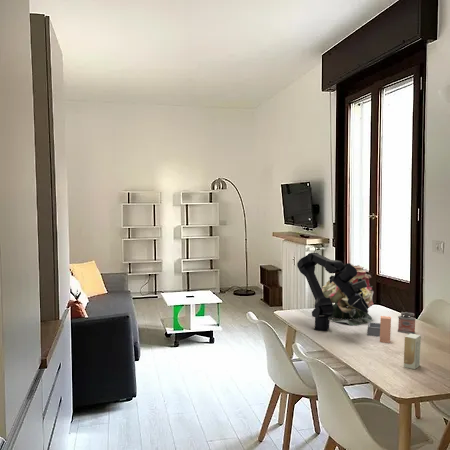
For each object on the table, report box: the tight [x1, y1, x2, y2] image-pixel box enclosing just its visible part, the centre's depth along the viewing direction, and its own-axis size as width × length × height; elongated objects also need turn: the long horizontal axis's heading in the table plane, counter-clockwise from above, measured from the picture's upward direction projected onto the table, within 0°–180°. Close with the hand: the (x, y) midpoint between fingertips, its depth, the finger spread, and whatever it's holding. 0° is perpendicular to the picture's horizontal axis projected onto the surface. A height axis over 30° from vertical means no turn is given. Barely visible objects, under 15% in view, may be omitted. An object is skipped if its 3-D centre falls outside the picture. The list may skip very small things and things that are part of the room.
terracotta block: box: [379, 315, 392, 344], centre depth 227 cm, size 4×4×11 cm
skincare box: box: [403, 333, 422, 370], centre depth 193 cm, size 6×4×12 cm
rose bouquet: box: [321, 263, 375, 326], centre depth 267 cm, size 26×29×30 cm
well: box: [366, 321, 380, 338], centre depth 240 cm, size 10×10×4 cm
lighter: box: [397, 311, 417, 335], centre depth 243 cm, size 8×3×10 cm, turn 62°
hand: (367, 310), depth 229 cm, fingers open, 9 cm apart
